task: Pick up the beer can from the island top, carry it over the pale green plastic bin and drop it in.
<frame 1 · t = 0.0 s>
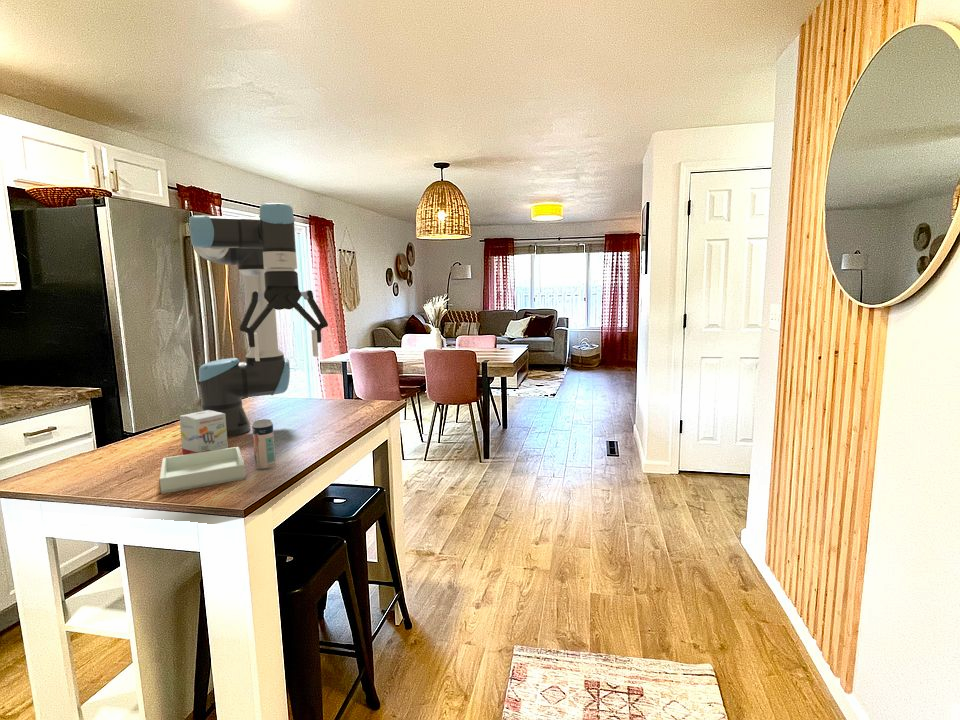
hand: (287, 358, 129), 28 cm above the countertop, fingers open, 13 cm apart
ink box: (206, 456, 145), on the countertop
beer can: (266, 467, 134), on the countertop
bin: (204, 475, 129), on the countertop
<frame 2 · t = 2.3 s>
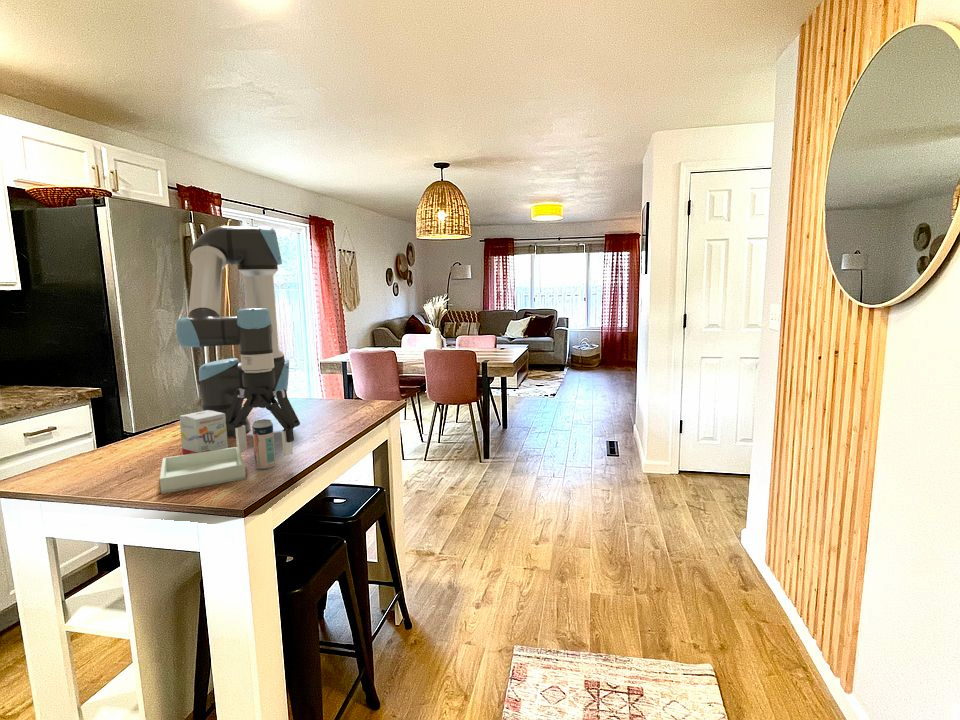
hand: (264, 453, 133), 4 cm above the countertop, fingers open, 13 cm apart
nothing on the countertop moved.
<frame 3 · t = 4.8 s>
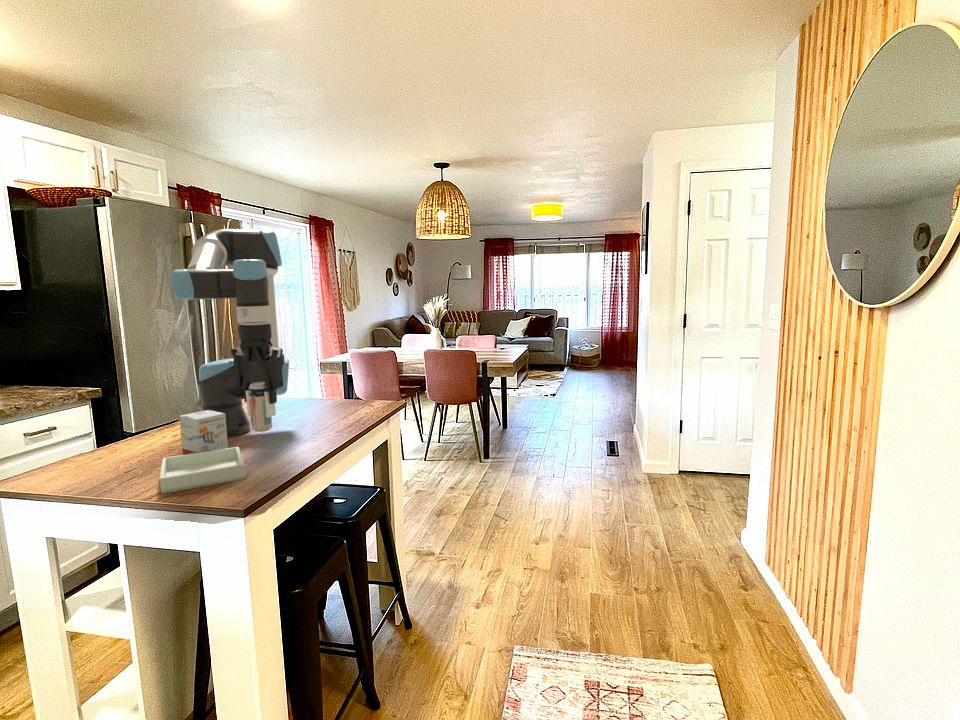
hand: (261, 415, 132), 13 cm above the countertop, fingers closed on beer can, 5 cm apart
beer can: (262, 430, 133), point 9 cm above the countertop, touching gripper
everything else where it was.
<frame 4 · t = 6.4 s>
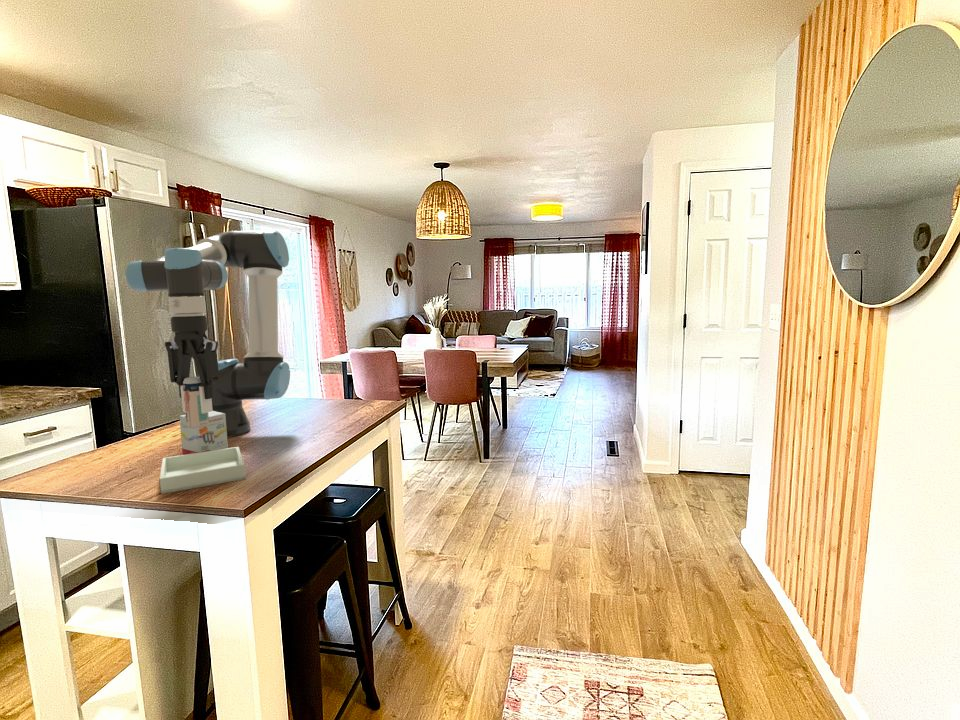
hand: (197, 411, 127), 16 cm above the countertop, fingers closed on beer can, 5 cm apart
beer can: (198, 427, 127), point 12 cm above the countertop, touching gripper
everything else where it was.
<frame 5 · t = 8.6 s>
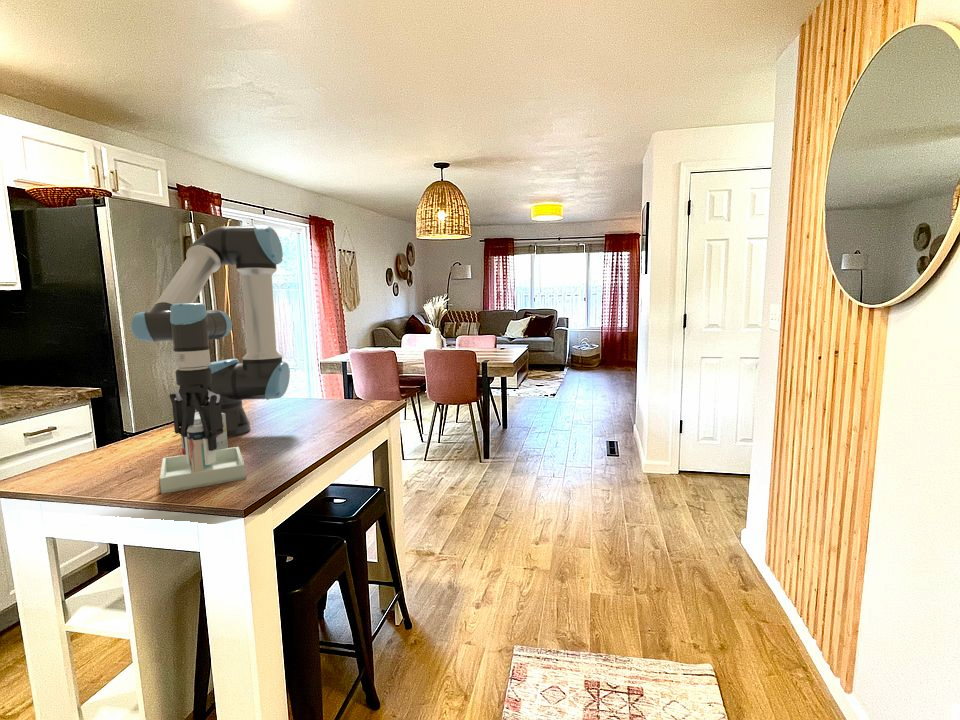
hand: (201, 462, 128), 3 cm above the countertop, fingers closed on beer can, 5 cm apart
beer can: (202, 474, 128), resting on bin, touching gripper
everything else where it was.
when the fingers open (3 cm above the countertop, at t = 9.4 s): beer can stays where it is, resting on bin.
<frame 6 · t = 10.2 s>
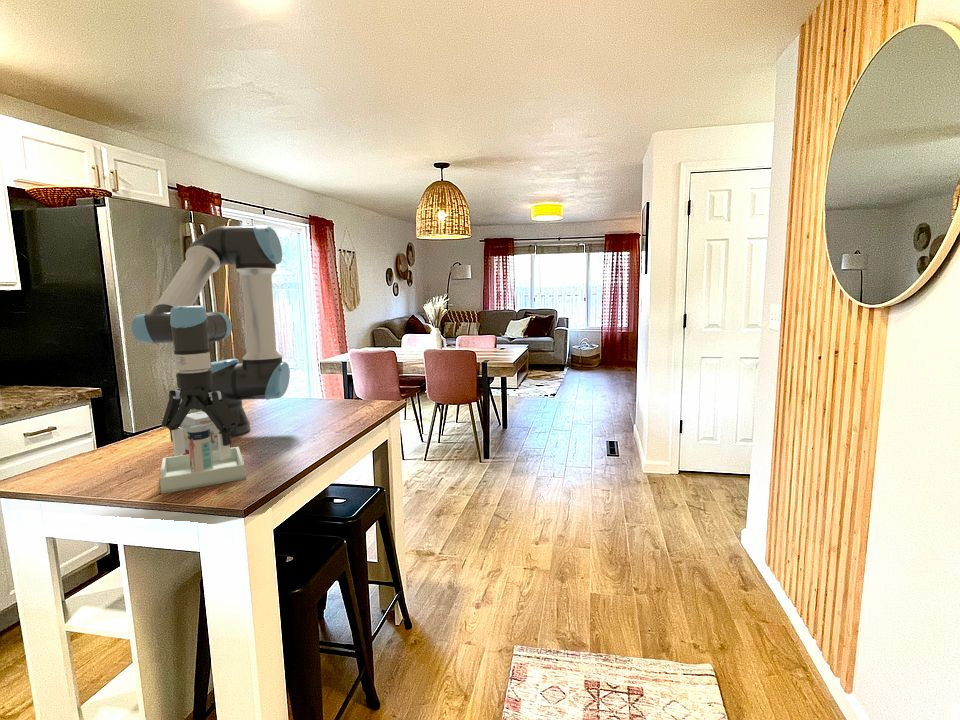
hand: (202, 456, 128), 5 cm above the countertop, fingers open, 13 cm apart
beer can: (202, 474, 128), resting on bin
everything else where it was.
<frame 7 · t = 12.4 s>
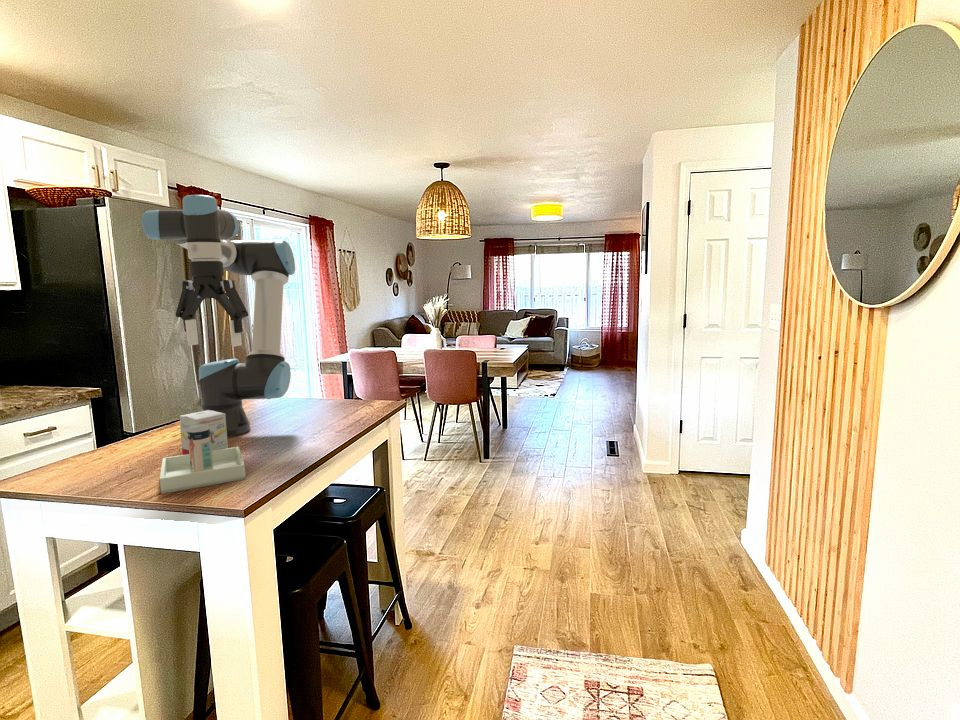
hand: (214, 345, 133), 31 cm above the countertop, fingers open, 13 cm apart
nothing on the countertop moved.
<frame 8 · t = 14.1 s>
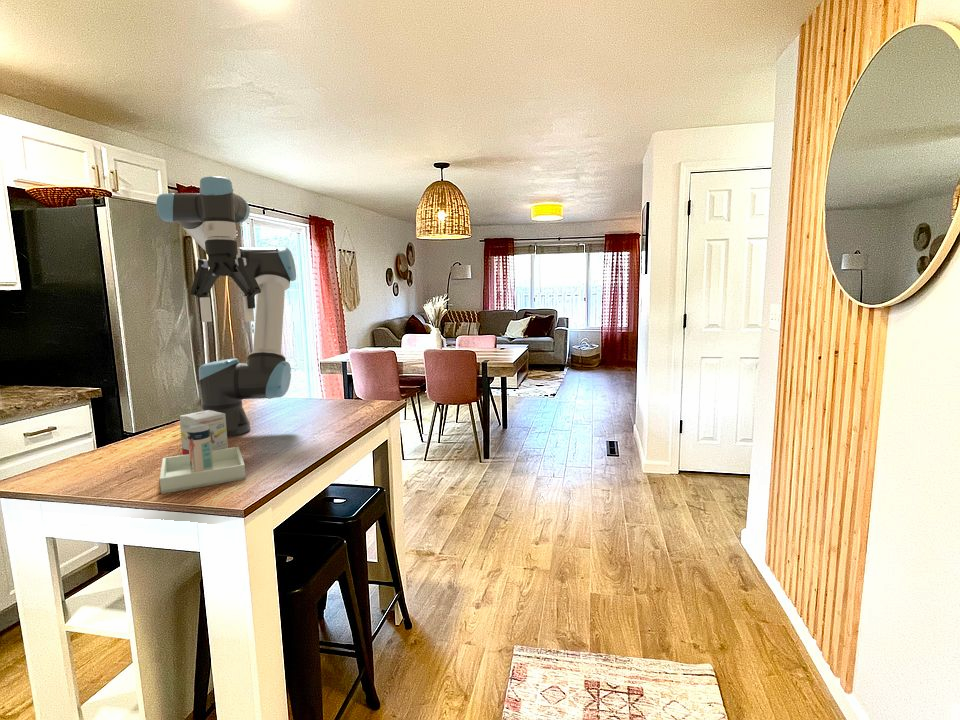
hand: (228, 321, 139), 37 cm above the countertop, fingers open, 13 cm apart
nothing on the countertop moved.
at the end: beer can inside the target area on the bin (0.4 cm from its centre), point 0.4 cm above the bin's base; the gripper is holding nothing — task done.
